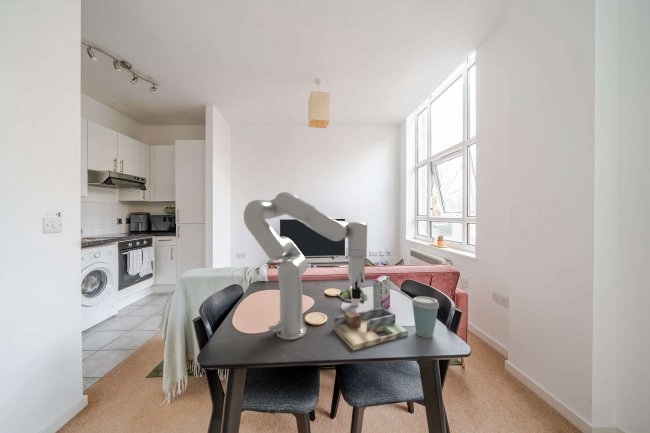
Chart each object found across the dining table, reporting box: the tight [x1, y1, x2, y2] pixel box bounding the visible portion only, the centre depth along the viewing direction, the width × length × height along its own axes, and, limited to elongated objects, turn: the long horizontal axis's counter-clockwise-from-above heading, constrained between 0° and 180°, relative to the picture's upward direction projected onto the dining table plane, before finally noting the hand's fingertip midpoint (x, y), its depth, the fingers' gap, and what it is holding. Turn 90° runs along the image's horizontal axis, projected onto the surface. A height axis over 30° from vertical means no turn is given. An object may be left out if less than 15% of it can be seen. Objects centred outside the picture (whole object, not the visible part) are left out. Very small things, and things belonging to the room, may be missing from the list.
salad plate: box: [337, 286, 369, 303], centre depth 140 cm, size 19×18×5 cm
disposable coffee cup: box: [411, 296, 440, 339], centre depth 98 cm, size 11×11×15 cm
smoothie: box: [349, 285, 360, 307], centre depth 129 cm, size 6×6×14 cm
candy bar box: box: [372, 274, 391, 310], centre depth 124 cm, size 11×5×16 cm, turn 143°
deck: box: [333, 307, 409, 351], centre depth 100 cm, size 26×17×6 cm, turn 114°
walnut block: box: [344, 310, 361, 329], centre depth 102 cm, size 5×5×5 cm
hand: (356, 298), depth 94 cm, fingers closed
